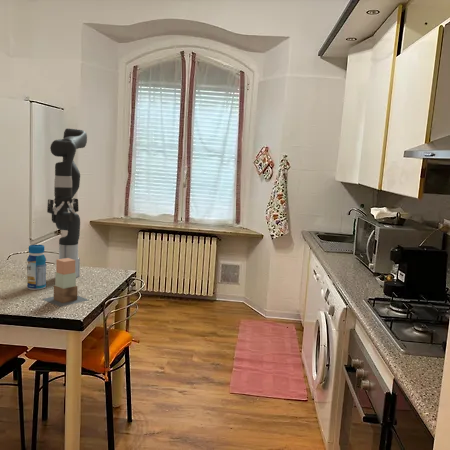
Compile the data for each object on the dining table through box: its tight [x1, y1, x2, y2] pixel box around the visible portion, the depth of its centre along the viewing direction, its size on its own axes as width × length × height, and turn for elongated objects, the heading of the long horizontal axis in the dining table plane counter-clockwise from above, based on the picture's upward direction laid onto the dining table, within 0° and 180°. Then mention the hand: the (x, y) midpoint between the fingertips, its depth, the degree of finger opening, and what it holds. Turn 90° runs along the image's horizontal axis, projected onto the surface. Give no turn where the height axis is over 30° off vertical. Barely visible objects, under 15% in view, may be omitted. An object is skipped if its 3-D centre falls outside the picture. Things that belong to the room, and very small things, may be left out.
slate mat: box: [42, 295, 89, 308], centre depth 200 cm, size 14×14×1 cm
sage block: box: [54, 272, 77, 289], centre depth 198 cm, size 6×6×6 cm
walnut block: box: [53, 285, 78, 303], centre depth 199 cm, size 7×7×6 cm
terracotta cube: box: [55, 258, 75, 275], centre depth 198 cm, size 6×6×6 cm
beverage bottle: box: [26, 244, 47, 291], centre depth 214 cm, size 8×8×20 cm
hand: (63, 222), depth 209 cm, fingers open, 8 cm apart
